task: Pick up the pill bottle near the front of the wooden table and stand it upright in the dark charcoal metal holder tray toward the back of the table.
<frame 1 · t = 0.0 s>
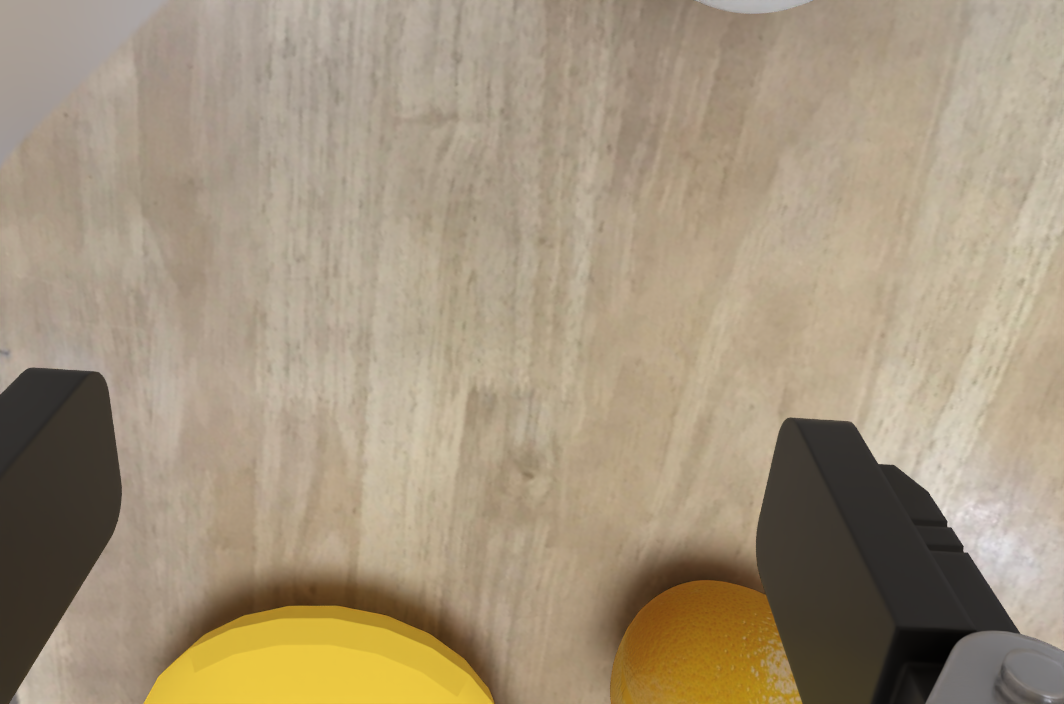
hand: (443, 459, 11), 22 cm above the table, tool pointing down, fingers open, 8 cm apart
fruit: (705, 617, 41), on the table
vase: (338, 701, 43), on the table
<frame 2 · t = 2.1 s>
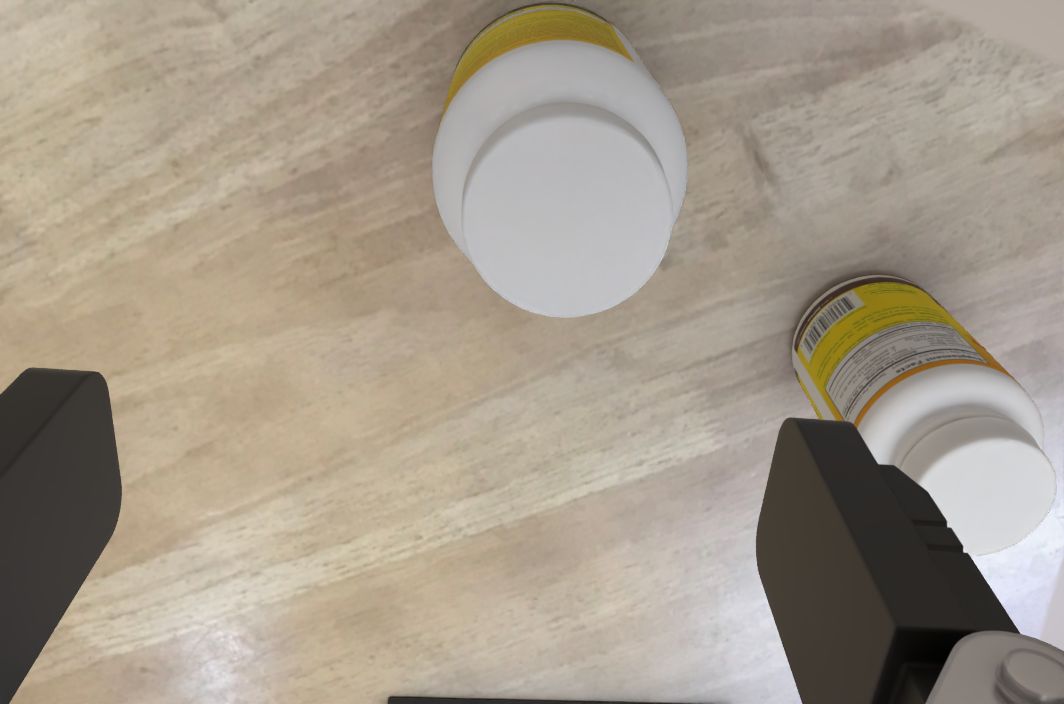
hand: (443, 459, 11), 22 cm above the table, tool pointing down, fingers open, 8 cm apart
supplement bottle: (861, 335, 35), on the table
pill bottle: (549, 103, 31), on the table
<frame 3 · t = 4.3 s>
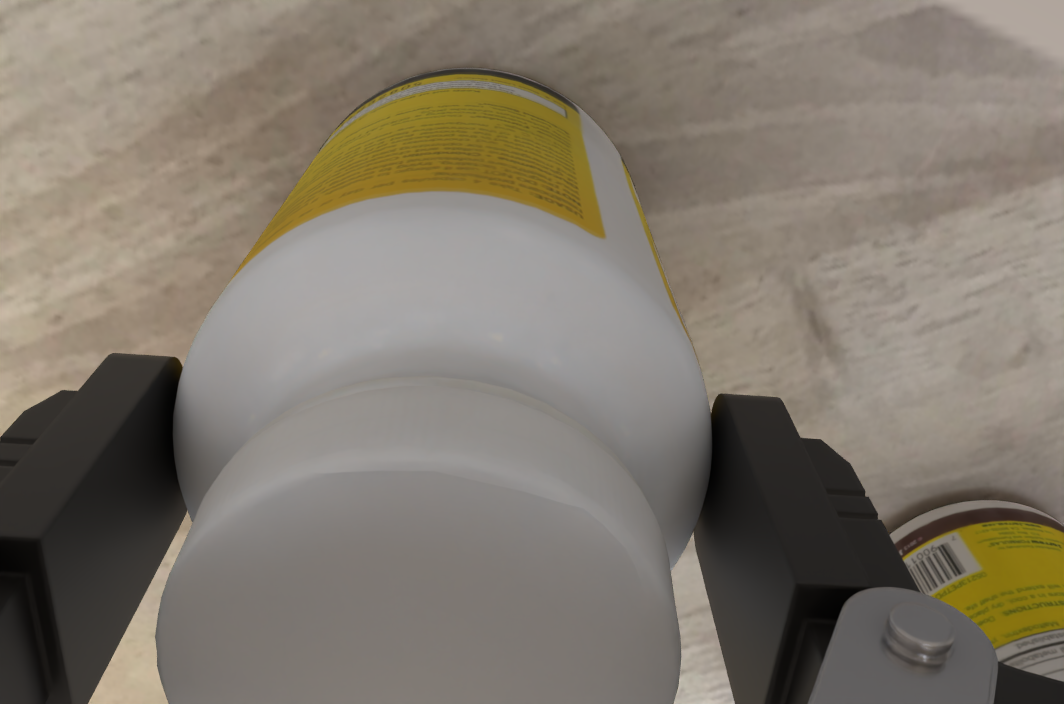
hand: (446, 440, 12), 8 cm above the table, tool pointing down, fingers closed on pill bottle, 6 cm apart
supplement bottle: (955, 576, 23), on the table
pill bottle: (475, 226, 19), on the table, touching gripper
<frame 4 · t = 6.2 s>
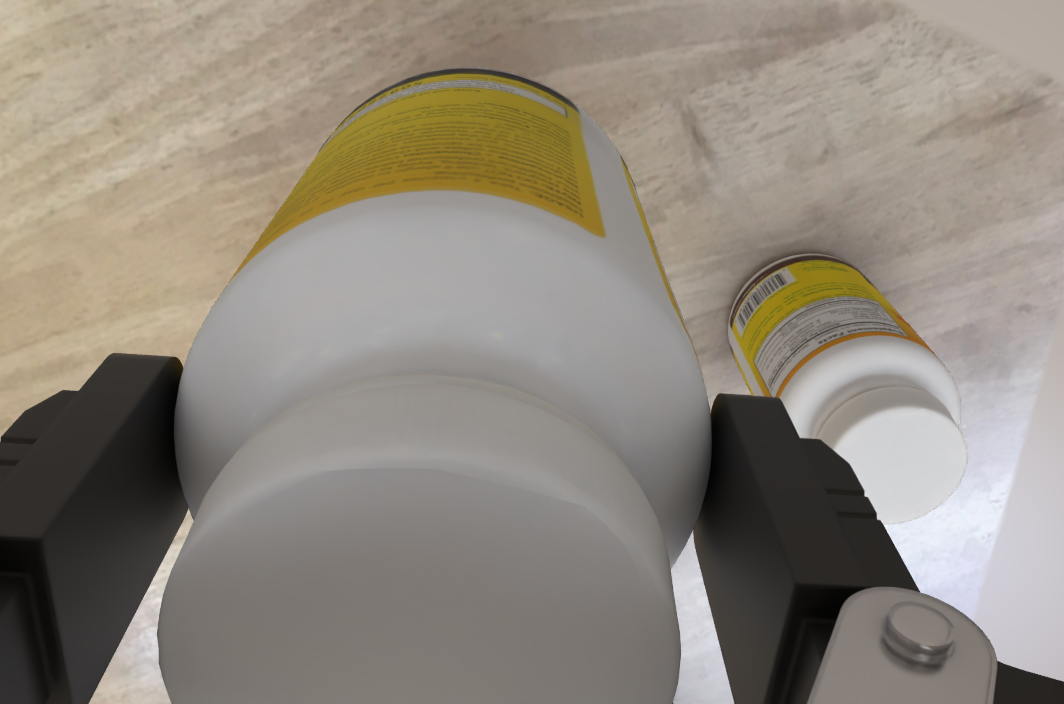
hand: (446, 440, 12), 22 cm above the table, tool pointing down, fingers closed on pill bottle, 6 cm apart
supplement bottle: (797, 314, 36), on the table
pill bottle: (476, 225, 19), point 14 cm above the table, touching gripper
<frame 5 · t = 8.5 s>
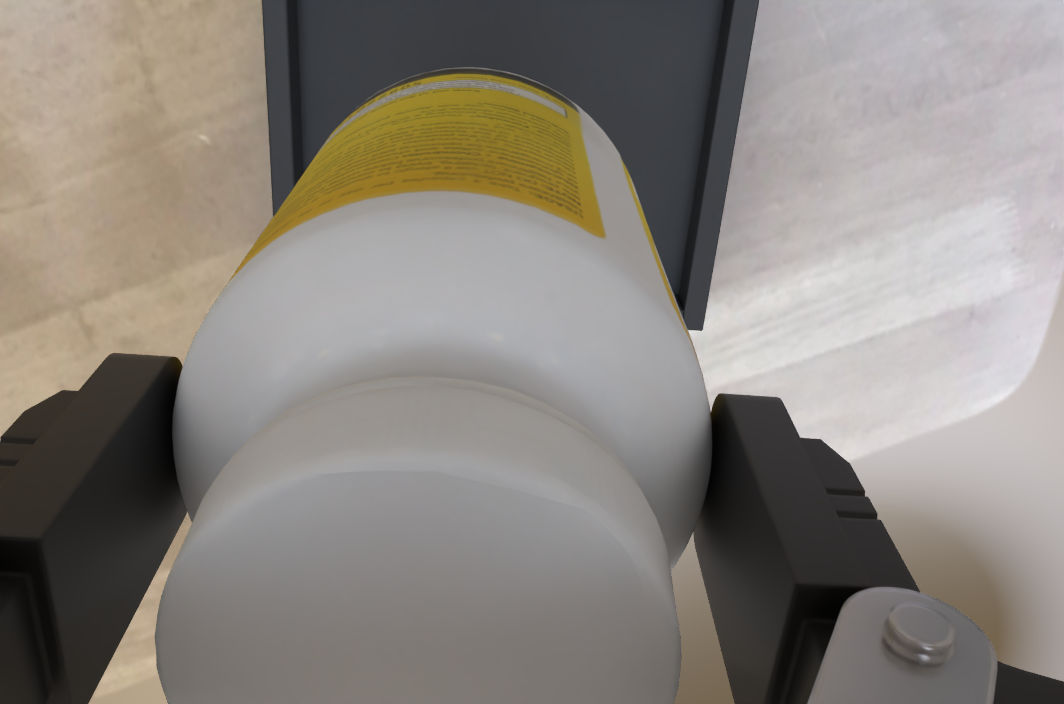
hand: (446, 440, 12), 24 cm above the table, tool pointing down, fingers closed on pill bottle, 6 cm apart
holder: (503, 132, 34), on the table
pill bottle: (475, 226, 19), point 16 cm above the table, touching gripper
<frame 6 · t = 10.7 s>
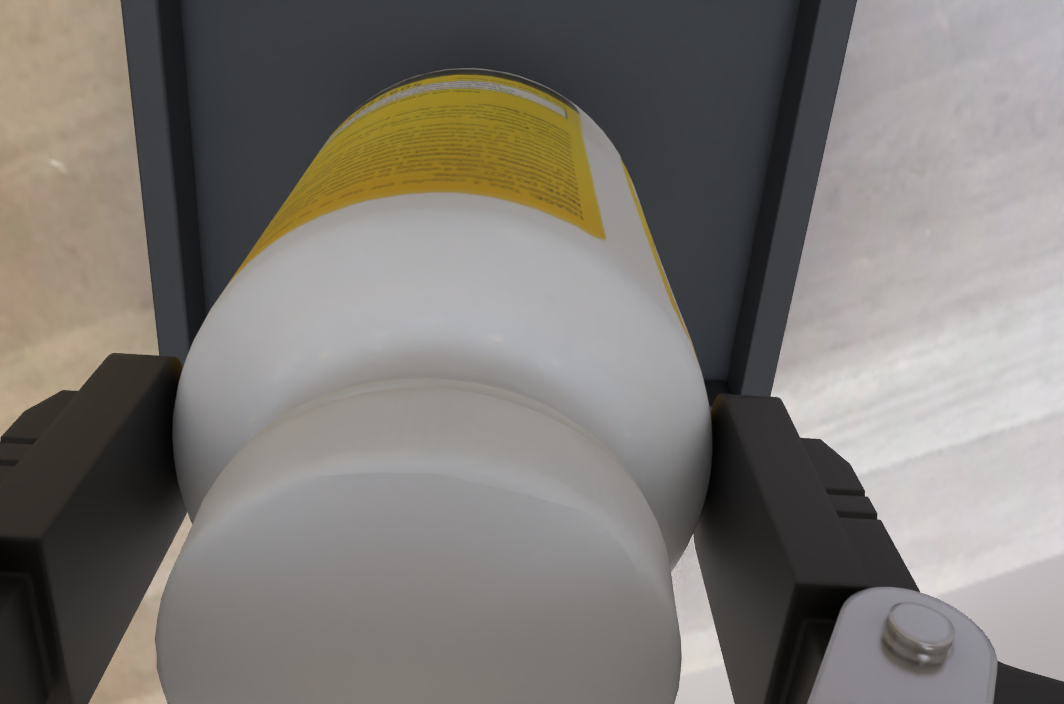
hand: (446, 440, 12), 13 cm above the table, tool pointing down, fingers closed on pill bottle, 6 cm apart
holder: (482, 158, 24), on the table
pill bottle: (475, 226, 19), point 5 cm above the table, touching gripper
when the fingers open (8 cm above the table, at t = 12.6 s): pill bottle stays where it is, resting on holder.
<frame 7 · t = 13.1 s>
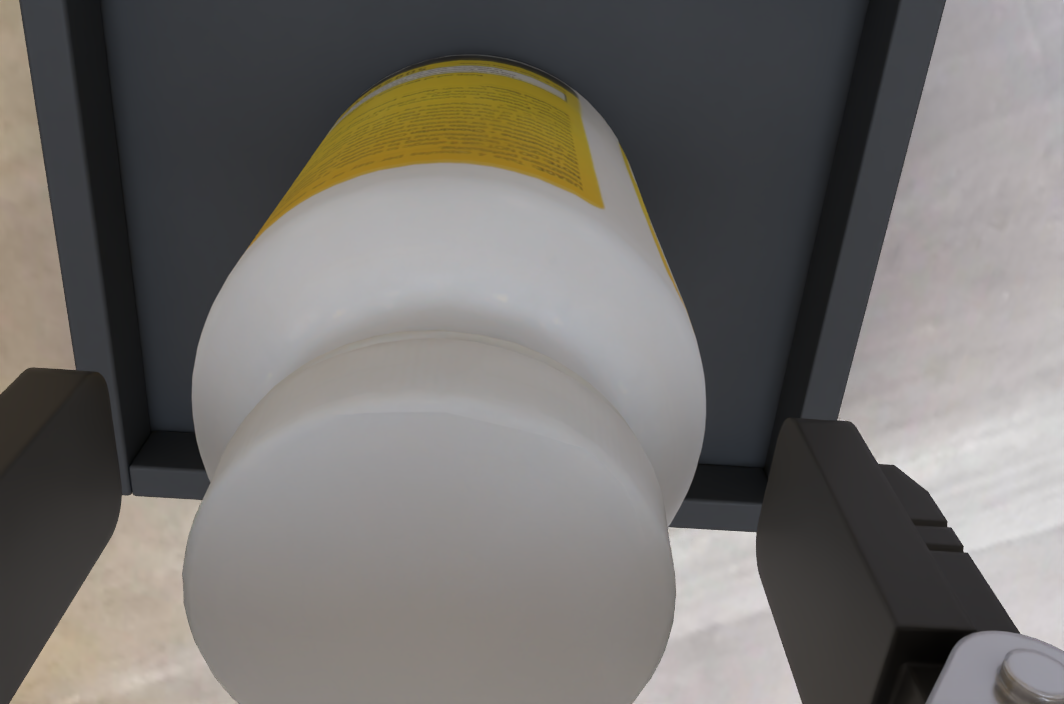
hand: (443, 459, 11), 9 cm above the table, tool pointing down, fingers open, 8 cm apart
holder: (475, 209, 20), on the table
pill bottle: (477, 210, 19), resting on holder
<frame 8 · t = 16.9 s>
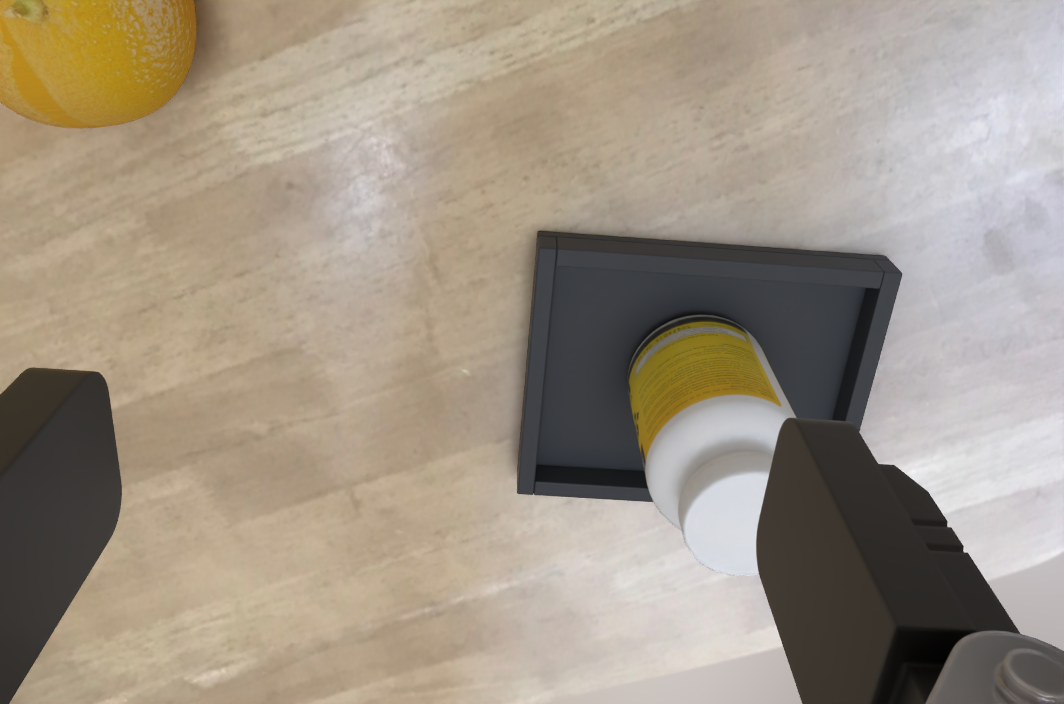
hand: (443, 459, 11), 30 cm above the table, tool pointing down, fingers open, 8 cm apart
holder: (691, 368, 45), on the table
pill bottle: (694, 370, 45), resting on holder
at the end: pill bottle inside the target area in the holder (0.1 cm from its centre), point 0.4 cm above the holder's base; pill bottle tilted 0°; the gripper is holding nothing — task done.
